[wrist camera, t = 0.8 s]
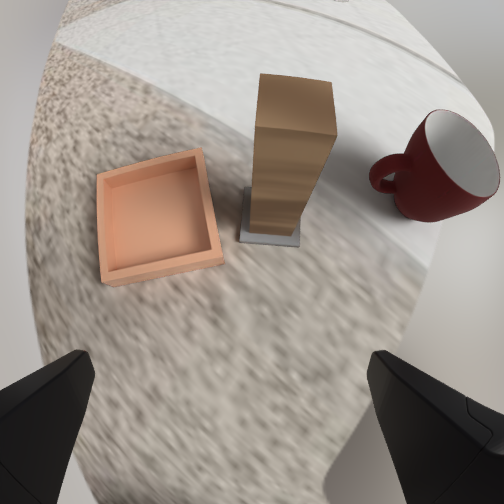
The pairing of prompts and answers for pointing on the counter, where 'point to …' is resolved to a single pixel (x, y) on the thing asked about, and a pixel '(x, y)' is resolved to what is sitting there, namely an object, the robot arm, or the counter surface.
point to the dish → (156, 219)
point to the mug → (439, 169)
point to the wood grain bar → (286, 156)
